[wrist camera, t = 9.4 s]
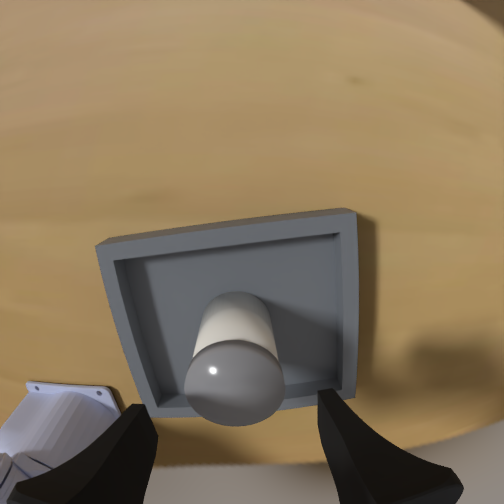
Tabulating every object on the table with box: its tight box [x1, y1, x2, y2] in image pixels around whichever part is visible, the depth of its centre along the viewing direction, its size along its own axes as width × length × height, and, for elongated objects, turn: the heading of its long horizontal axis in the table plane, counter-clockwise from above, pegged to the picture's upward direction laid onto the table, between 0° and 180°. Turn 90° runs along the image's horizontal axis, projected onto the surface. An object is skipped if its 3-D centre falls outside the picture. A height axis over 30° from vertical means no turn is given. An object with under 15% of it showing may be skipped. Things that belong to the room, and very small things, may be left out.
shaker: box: [184, 291, 285, 426], centre depth 17 cm, size 5×5×7 cm
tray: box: [95, 208, 359, 418], centre depth 20 cm, size 15×13×2 cm
